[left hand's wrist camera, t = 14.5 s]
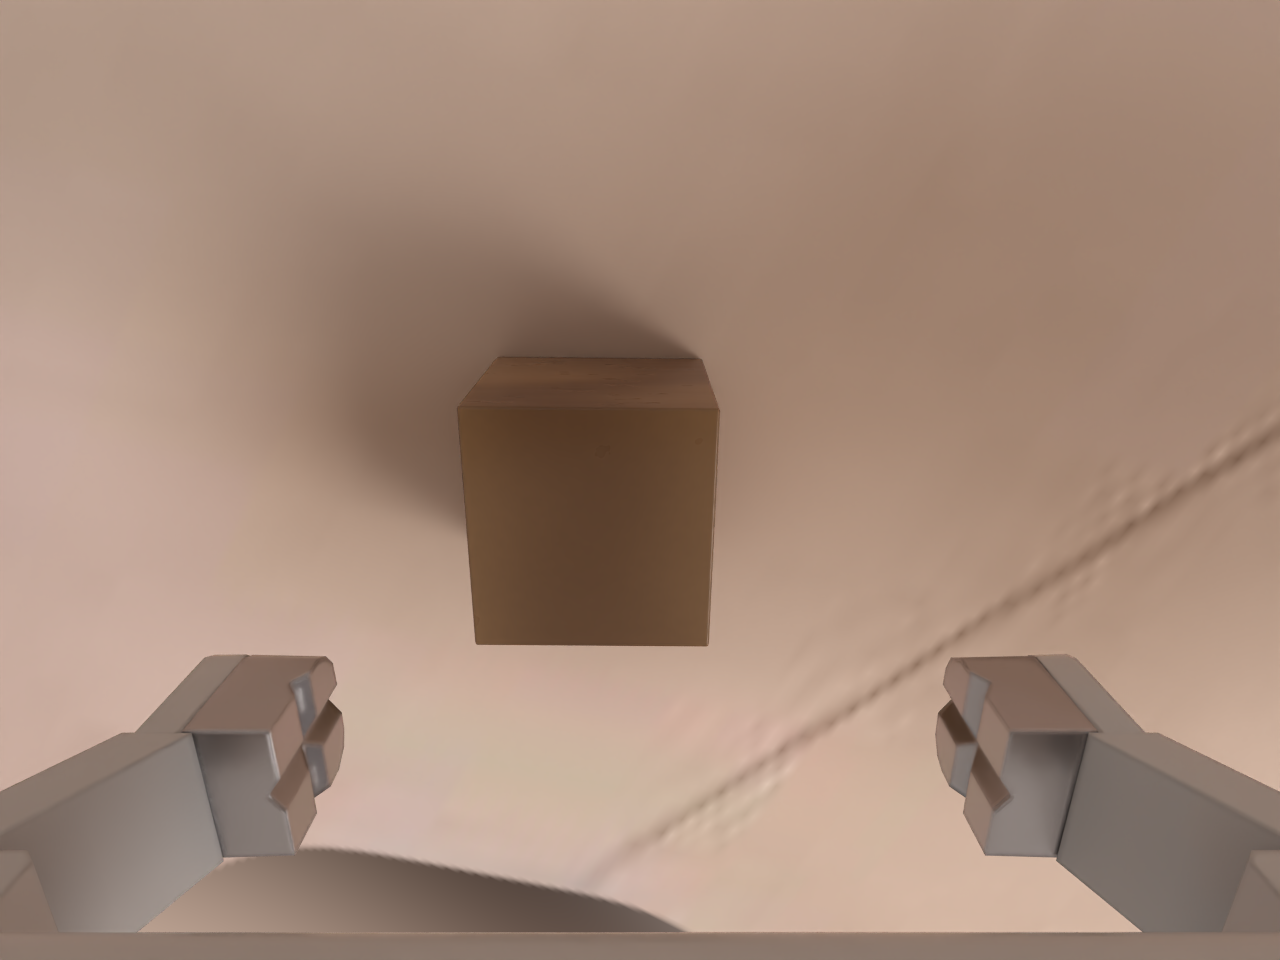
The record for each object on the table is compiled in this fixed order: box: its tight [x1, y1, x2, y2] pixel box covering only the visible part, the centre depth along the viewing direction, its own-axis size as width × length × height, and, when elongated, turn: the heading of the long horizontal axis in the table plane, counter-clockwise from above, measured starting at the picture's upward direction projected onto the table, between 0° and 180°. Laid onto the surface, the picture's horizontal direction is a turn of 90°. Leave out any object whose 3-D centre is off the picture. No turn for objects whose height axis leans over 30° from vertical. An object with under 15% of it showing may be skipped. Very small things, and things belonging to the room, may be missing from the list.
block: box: [457, 357, 720, 646], centre depth 17 cm, size 5×5×4 cm
